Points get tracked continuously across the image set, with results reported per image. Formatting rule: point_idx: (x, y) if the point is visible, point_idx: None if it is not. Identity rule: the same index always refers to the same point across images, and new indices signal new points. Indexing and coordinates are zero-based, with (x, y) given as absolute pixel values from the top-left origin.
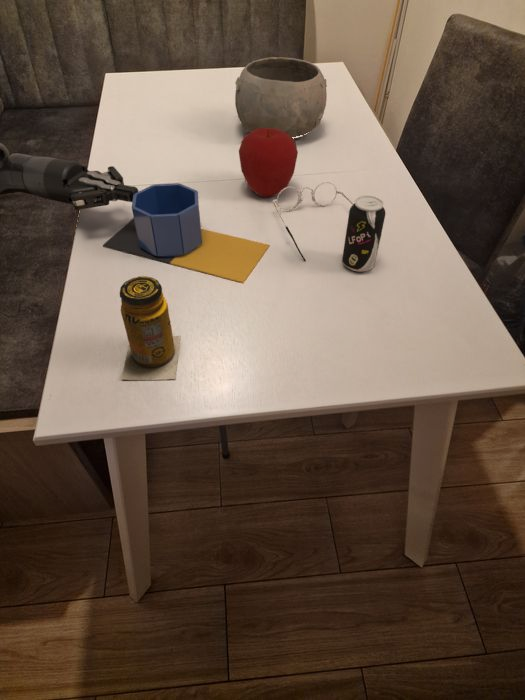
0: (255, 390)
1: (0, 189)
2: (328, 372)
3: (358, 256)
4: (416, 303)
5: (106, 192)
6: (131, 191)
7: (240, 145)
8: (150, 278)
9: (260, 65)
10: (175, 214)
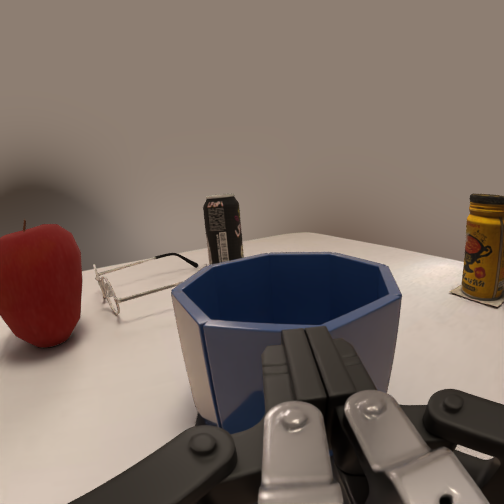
0: (425, 259)
1: None
2: (372, 251)
3: (242, 244)
4: (263, 249)
5: (419, 422)
6: (326, 328)
7: (8, 266)
8: (476, 195)
9: None
10: (337, 253)
